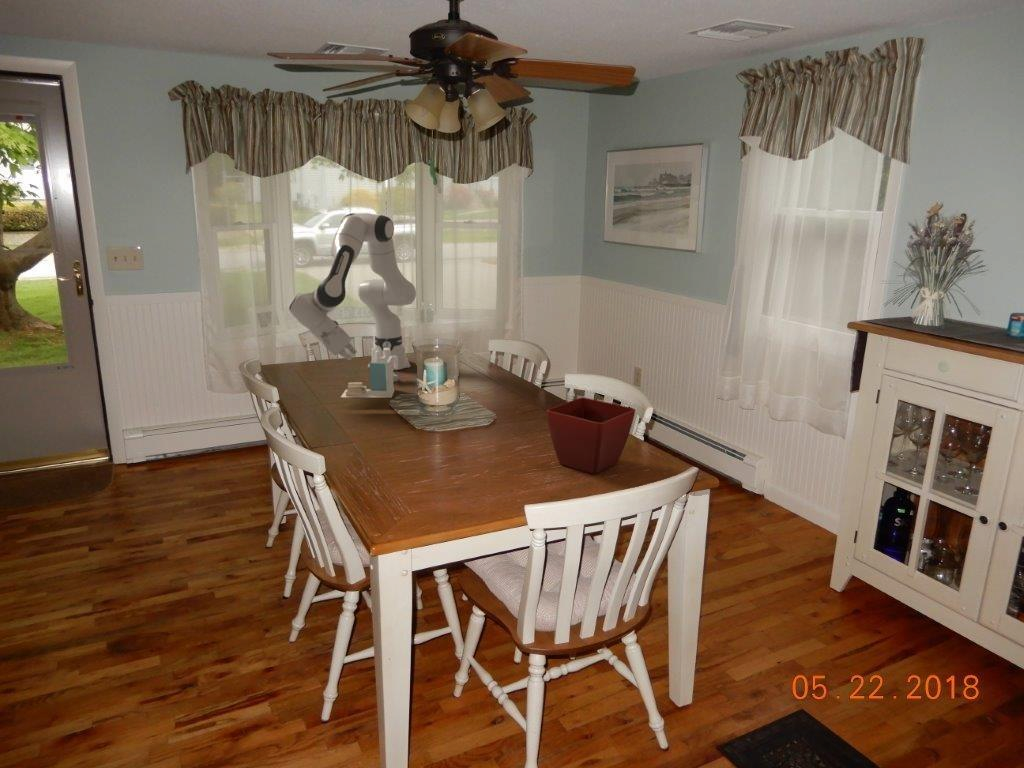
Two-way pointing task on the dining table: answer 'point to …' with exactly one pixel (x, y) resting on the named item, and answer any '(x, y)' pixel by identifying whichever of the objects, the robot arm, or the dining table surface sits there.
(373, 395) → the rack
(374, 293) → the robot arm
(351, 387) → the offcut top
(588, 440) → the plant pot
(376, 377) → the tall board
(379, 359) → the figurine
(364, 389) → the plate
